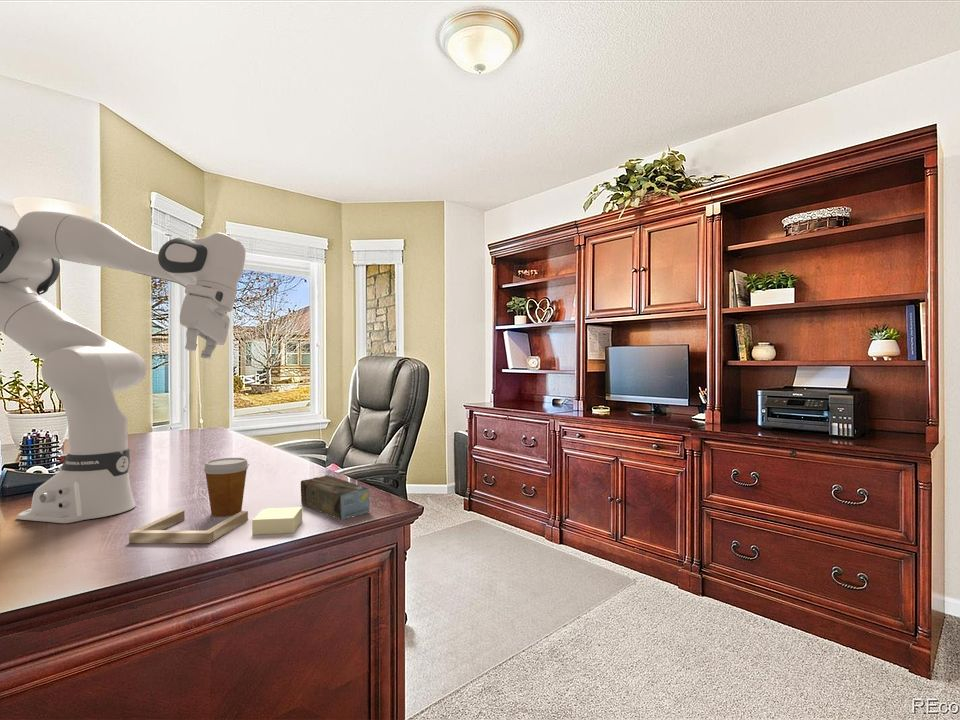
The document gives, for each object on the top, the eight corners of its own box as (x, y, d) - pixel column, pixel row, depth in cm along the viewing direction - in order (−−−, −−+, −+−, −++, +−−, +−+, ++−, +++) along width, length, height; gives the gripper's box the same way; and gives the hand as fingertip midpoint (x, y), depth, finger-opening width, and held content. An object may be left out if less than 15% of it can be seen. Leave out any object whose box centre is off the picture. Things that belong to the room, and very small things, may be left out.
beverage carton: (340, 521, 110) (339, 491, 110) (299, 505, 123) (298, 478, 123) (370, 513, 116) (370, 485, 116) (328, 498, 129) (328, 473, 129)
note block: (252, 534, 101) (252, 519, 101) (264, 522, 109) (264, 508, 109) (293, 532, 102) (293, 518, 102) (302, 520, 110) (302, 506, 110)
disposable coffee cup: (213, 507, 121) (213, 457, 121) (254, 506, 122) (254, 456, 122) (195, 519, 111) (195, 465, 111) (240, 518, 112) (240, 464, 112)
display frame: (129, 542, 97) (129, 532, 97) (178, 519, 111) (177, 510, 111) (209, 543, 96) (209, 533, 96) (247, 520, 111) (247, 511, 111)
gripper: (214, 309, 130) (200, 360, 127) (182, 282, 110) (164, 342, 107) (240, 313, 131) (226, 365, 128) (212, 288, 111) (195, 347, 108)
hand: (197, 354), depth 117 cm, fingers open, 8 cm apart
